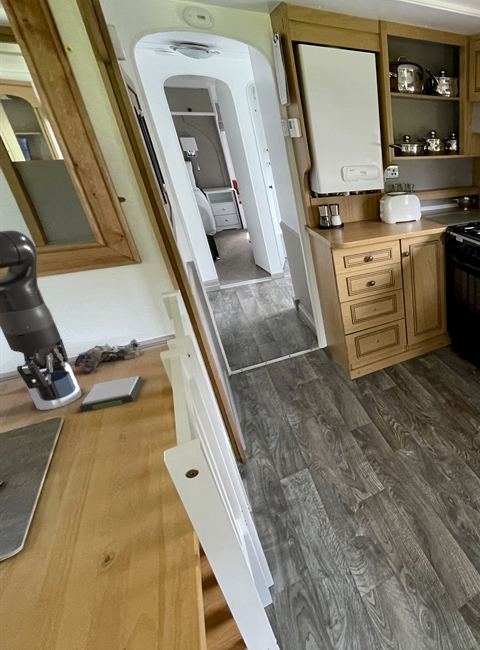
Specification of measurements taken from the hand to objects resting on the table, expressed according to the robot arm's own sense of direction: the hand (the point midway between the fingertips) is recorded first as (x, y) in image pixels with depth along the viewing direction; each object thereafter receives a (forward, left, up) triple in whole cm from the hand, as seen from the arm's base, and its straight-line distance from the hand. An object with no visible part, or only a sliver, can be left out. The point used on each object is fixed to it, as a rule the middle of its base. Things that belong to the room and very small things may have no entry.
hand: (57, 390), depth 87 cm
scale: (+2, +19, -15) cm, 25 cm away
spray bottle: (-11, +23, -15) cm, 30 cm away
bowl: (0, 0, -1) cm, 1 cm away
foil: (-4, +43, -15) cm, 46 cm away
